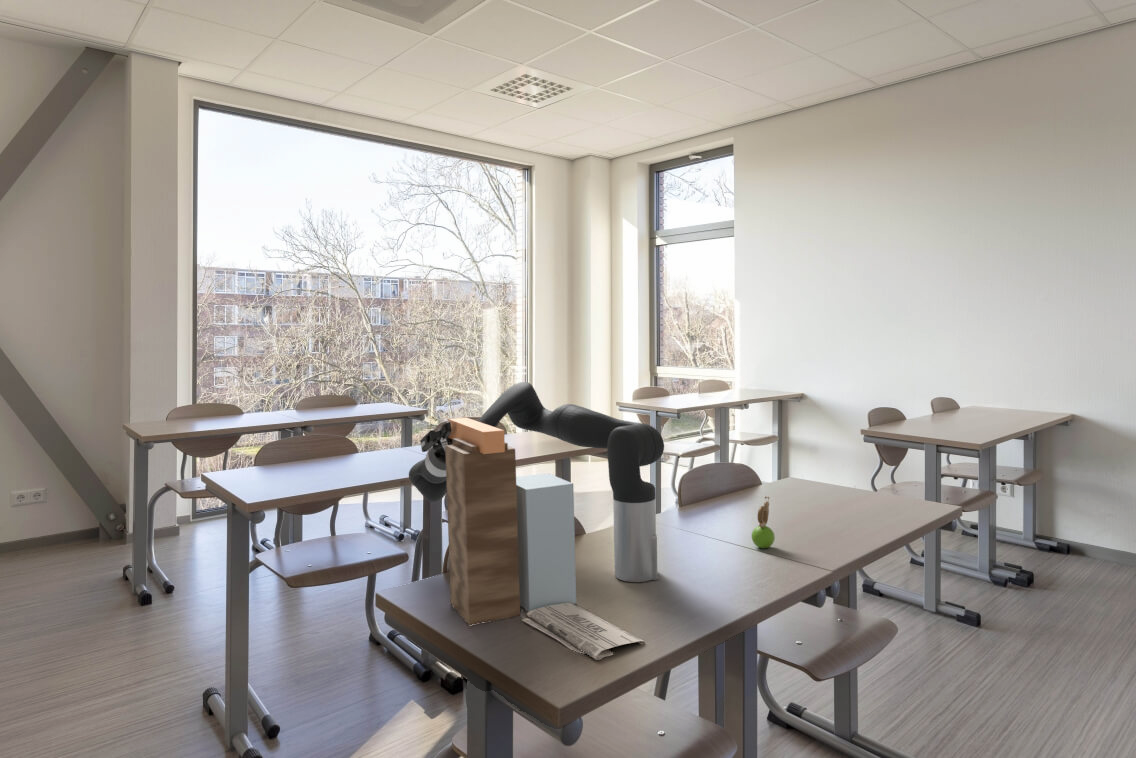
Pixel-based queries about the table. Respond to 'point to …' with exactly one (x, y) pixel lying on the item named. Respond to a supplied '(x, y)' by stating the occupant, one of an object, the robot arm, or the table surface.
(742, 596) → the table surface
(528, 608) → the short post
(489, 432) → the beam
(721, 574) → the table surface
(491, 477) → the tall post
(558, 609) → the newspaper
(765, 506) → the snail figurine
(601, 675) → the table surface
